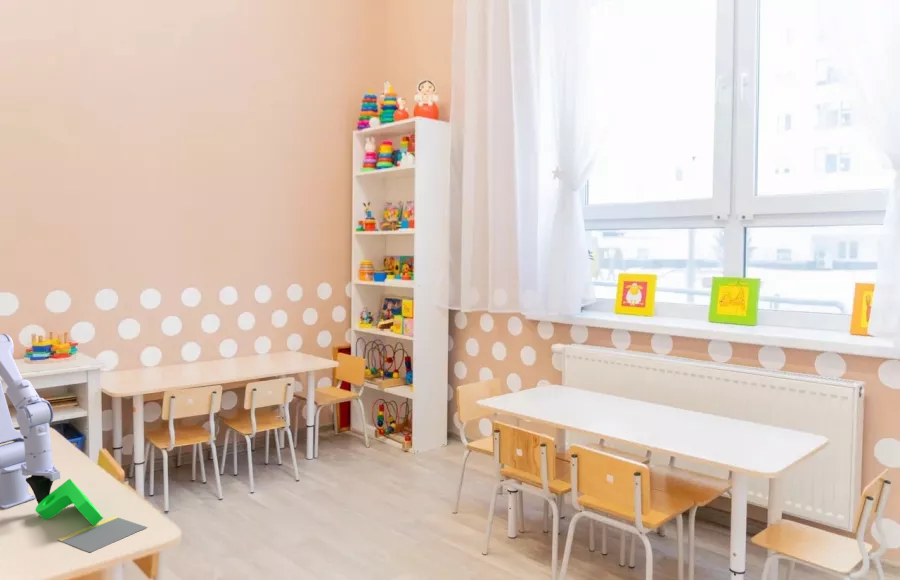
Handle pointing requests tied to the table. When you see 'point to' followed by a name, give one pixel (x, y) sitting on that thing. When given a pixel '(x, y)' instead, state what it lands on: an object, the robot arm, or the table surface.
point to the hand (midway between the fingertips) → (43, 503)
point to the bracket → (68, 503)
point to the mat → (101, 534)
